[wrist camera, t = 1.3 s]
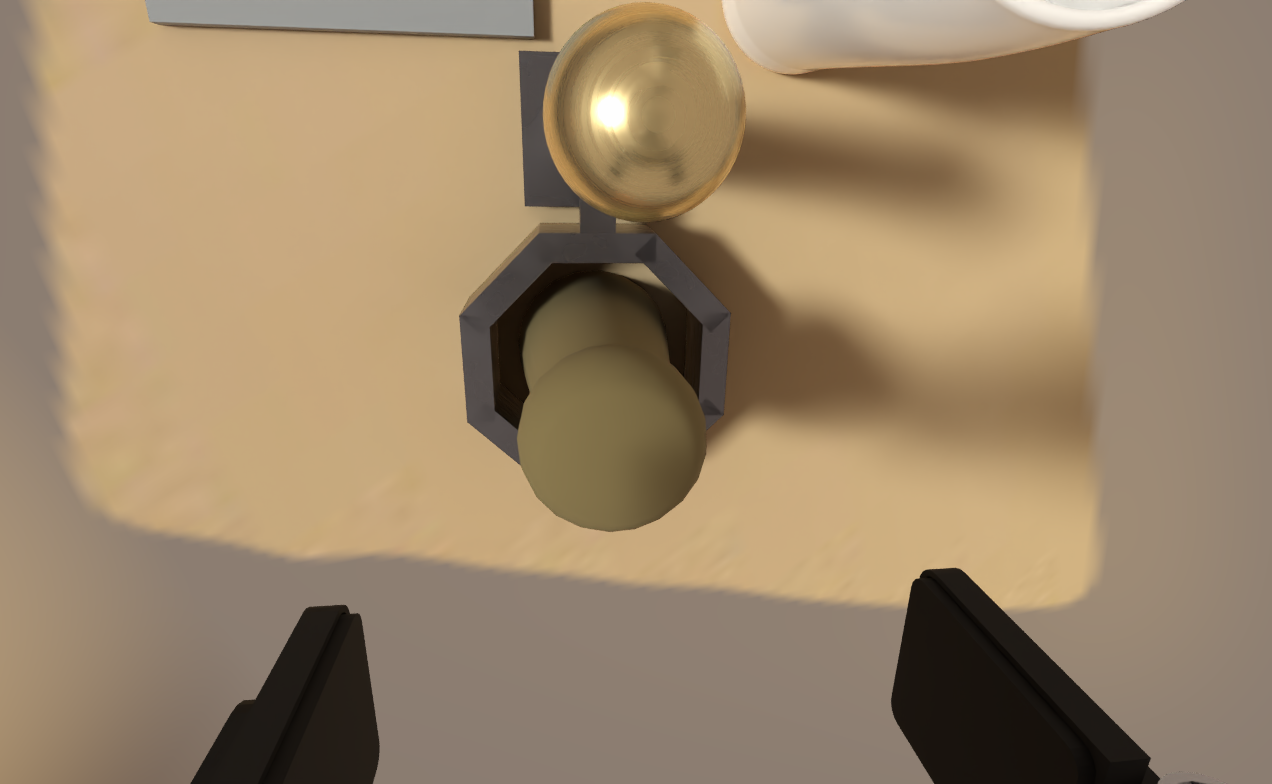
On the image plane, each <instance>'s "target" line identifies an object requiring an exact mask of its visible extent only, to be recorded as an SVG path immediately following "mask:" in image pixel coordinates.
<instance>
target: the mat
mask: <svg viewBox="0 0 1272 784" xmlns="http://www.w3.org/2000/svg"><path fill="white" fill-rule="evenodd" d="M145 2H146V7H147V12H148V16H149V21H150V22H152V23H156V24H159V25H176V26H203V27H229V28H256V29H282V30H309V31H335V32H362V33H388V34H415V35H441V36H468V37H494V38H521V39H534V13H533V0H145Z"/></svg>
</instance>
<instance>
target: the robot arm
mask: <svg viewBox="0 0 1272 784" xmlns="http://www.w3.org/2000/svg"><path fill="white" fill-rule="evenodd" d="M891 705H892V711H893V715H894V718H895V720H896V722H897V724H898V725H899V727H900V729H901V730H902V732H903V734H904V735H905V737H906V738H907V740H908V742H909V743H910V745H911V746H912V748H913V750H914V751H915V753H916V755H917V756H918V758H919V759H920V761H921V763H922V764H923V766H924V768H925V769H926V771H927V772H928V774H929V776H930V777H931V779H932V781H933V782H934V784H1227V783H1225V782H1222V781H1220V780H1218V779H1215V778H1212V777H1209V776H1205V775H1202V774H1198V773H1191V772H1175V773H1170V774H1166V775H1165V776H1164V777H1163V778H1161V779H1160V778H1159V777H1158V776H1157V775H1156V774H1155V773H1154V772H1153V771H1152V770H1151V769H1150V768H1149V767H1148V765H1149V762H1150V759H1151V758H1150V757H1149V756H1148V755H1147V754H1146V753H1145V752H1144V751H1143V750H1142V749H1141V748H1140V747H1139V746H1138V745H1137V744H1136V743H1135V742H1134V741H1133V740H1132V739H1131V738H1130V737H1129V736H1128V735H1127V734H1126V733H1125V732H1124V731H1123V730H1122V729H1121V728H1120V727H1119V726H1118V725H1117V724H1116V723H1115V722H1114V721H1113V720H1112V719H1111V718H1110V717H1109V716H1108V715H1107V714H1106V713H1105V712H1104V711H1103V710H1102V709H1101V708H1100V707H1099V706H1098V705H1097V704H1096V703H1095V702H1094V701H1093V700H1092V699H1091V698H1090V697H1089V696H1088V695H1087V694H1086V693H1085V692H1084V691H1083V690H1082V689H1081V688H1080V687H1079V686H1078V685H1077V684H1076V683H1075V682H1074V681H1073V680H1072V679H1071V678H1070V677H1069V676H1068V675H1067V674H1066V673H1065V672H1064V671H1063V670H1062V669H1061V668H1060V667H1059V666H1058V665H1057V664H1056V663H1055V662H1054V661H1053V660H1052V659H1051V658H1050V657H1049V656H1048V655H1047V654H1046V653H1045V652H1044V651H1043V650H1042V649H1041V648H1040V647H1039V646H1038V645H1037V644H1036V643H1035V642H1034V641H1033V640H1032V639H1031V638H1030V637H1029V636H1028V635H1027V634H1026V633H1024V631H1023V630H1022V629H1021V628H1020V627H1019V626H1018V625H1017V624H1015V622H1014V621H1013V620H1012V619H1011V618H1010V617H1009V616H1008V615H1007V614H1006V613H1005V612H1004V611H1003V610H1002V609H1001V608H1000V607H999V606H998V605H997V604H996V603H995V602H994V601H993V600H992V599H991V598H990V597H989V596H988V595H987V594H986V593H985V592H984V591H983V590H982V589H981V588H980V587H979V586H978V585H977V584H976V583H975V582H974V581H973V580H972V579H971V578H970V577H969V576H968V575H967V574H966V573H965V572H963V571H962V570H961V569H958V568H946V569H929V570H925V571H923V572H922V574H921V575H920V579H915V580H914V581H913V583H912V586H911V592H910V597H909V603H908V608H907V614H906V619H905V625H904V631H903V636H902V642H901V647H900V653H899V659H898V664H897V670H896V675H895V681H894V686H893V692H892V698H891ZM378 760H379V736H378V730H377V723H376V716H375V709H374V702H373V695H372V688H371V682H370V674H369V667H368V661H367V654H366V647H365V640H364V633H363V626H362V620H361V616H360V614H358V613H357V614H350V613H349V609H348V607H347V606H346V605H334V606H317V607H308V608H306V609H305V611H304V612H303V614H302V616H301V618H300V619H299V621H298V623H297V625H296V627H295V628H294V630H293V632H292V634H291V636H290V638H289V639H288V641H287V643H286V645H285V647H284V649H283V650H282V652H281V654H280V656H279V658H278V660H277V661H276V663H275V665H274V667H273V669H272V670H271V673H270V674H269V676H268V678H267V680H266V681H265V683H264V685H263V687H262V689H261V691H260V693H259V694H258V696H257V698H256V700H244V701H242V702H241V703H239V704H238V705H237V706H236V707H235V709H234V710H233V712H232V713H231V714H230V716H229V718H228V720H227V722H226V723H225V725H224V727H223V728H222V730H221V732H220V734H219V735H218V737H217V739H216V741H215V742H214V744H213V746H212V747H211V749H210V751H209V753H208V754H207V756H206V758H205V760H204V761H203V763H202V765H201V766H200V768H199V770H198V772H197V773H196V775H195V777H194V779H193V780H192V782H191V784H373V781H374V777H375V774H376V770H377V765H378Z"/></svg>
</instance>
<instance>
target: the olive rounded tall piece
mask: <svg viewBox="0 0 1272 784" xmlns="http://www.w3.org/2000/svg"><path fill="white" fill-rule="evenodd" d="M518 342H519V350H520V358H521V364H522V367H523V371H524V374H525V377H526V381H527V384H528V388H529V391H530V394H529V396H528V397H527V399H526V400H525V402H524V405H523V410H522V415H521V419H520V424H519V429H518V434H517V443H518V451H519V458H520V465H521V468H522V470H523V472H524V474H525V476H526V478H527V480H528V481H529V483H530V485H531V487H532V489H533V491H534V493H535V495H536V497H537V498H538V499H539V500H540V501H541V502H542V503H543V504H545V505H546V506H547V507H548V508H549V509H550V510H551V511H552V512H553V513H554V514H555V515H556V516H558V517H561V518H563V519H565V520H567V521H569V522H571V523H573V524H575V525H577V526H579V527H583V528H588V529H595V530H601V531H607V532H614V531H622V530H631V529H636V528H639V527H641V526H644V525H646V524H649V523H651V522H653V521H656V520H658V519H660V518H661V517H663V516H664V515H665V514H666V513H668V512H669V511H670V510H672V509H673V508H674V507H675V506H677V505H678V504H679V503H680V502H682V501H683V500H684V498H685V497H686V495H687V494H688V492H689V491H690V490H691V488H692V487H693V485H694V484H695V483H696V481H697V480H698V478H699V474H700V471H701V468H702V465H703V462H704V459H705V455H706V419H705V416H704V413H703V411H702V408H701V406H700V403H699V401H698V398H697V395H696V393H695V392H694V390H693V388H692V387H691V385H690V384H689V383H688V382H687V381H686V380H685V379H684V377H683V376H682V375H681V374H680V373H679V372H678V370H677V369H676V368H675V367H674V366H673V365H672V364H670V361H669V353H668V344H667V336H666V327H665V324H664V322H663V319H662V317H661V314H660V311H659V309H658V306H657V305H656V304H655V302H654V301H653V300H652V299H651V298H650V297H649V295H648V294H647V293H646V292H645V291H644V289H643V288H641V287H640V286H638V285H636V284H635V283H633V282H632V281H630V280H628V279H627V278H625V277H623V276H621V275H616V274H612V273H608V272H604V271H600V270H598V271H586V272H575V273H572V274H570V275H568V276H565V277H563V278H561V279H558V280H556V281H553V282H552V283H551V284H550V285H548V286H547V287H546V288H545V289H544V290H543V291H542V292H540V293H539V294H538V295H537V296H536V297H535V298H534V299H533V301H532V303H531V305H530V306H529V308H528V310H527V311H526V313H525V315H524V317H523V319H522V324H521V329H520V334H519V339H518Z"/></svg>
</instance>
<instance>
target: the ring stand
mask: <svg viewBox="0 0 1272 784" xmlns="http://www.w3.org/2000/svg"><path fill="white" fill-rule="evenodd" d="M519 67H520V92H521V118H522V144H523V170H524V196H525V206H549V207H579V215H580V224H573V223H540V224H539V225H538V226H537V227H536V228H535V230H534V231H533V232H532V233H531V234H530V235H529V236H528V237H527V238H526V239H525V240H524V241H523V242H522V243H521V244H520V245H519V246H518V247H517V248H516V249H515V250H514V251H513V252H512V254H511V255H510V256H509V257H508V258H507V259H506V260H505V261H504V262H503V263H502V264H501V265H500V266H499V267H498V268H497V269H496V270H495V271H494V272H493V273H492V274H491V275H490V276H489V278H488V279H487V280H486V281H485V282H484V283H483V284H482V285H481V286H480V287H479V288H478V289H477V290H476V291H475V292H474V293H473V294H472V295H471V296H470V297H469V299H468V301H467V302H466V304H465V306H464V308H463V310H462V312H461V313H460V315H459V318H460V332H461V345H462V358H463V371H464V384H465V397H466V410H467V422H468V423H469V424H470V425H472V426H473V427H474V428H475V429H477V430H478V431H479V432H480V433H481V434H483V435H484V436H485V437H486V438H488V439H489V440H490V441H491V442H492V443H494V444H495V445H496V446H497V447H499V448H500V449H501V450H502V451H503V452H505V453H506V454H507V455H508V456H510V457H511V458H512V459H513V460H515V461H516V462H517V463H518V464H519V465H520V458H519V451H518V443H517V434H518V429H519V424H520V419H521V415H522V410H523V405H524V403H523V402H522V401H521V400H519V399H518V398H517V397H516V396H515V395H514V394H512V393H511V392H510V391H509V390H508V389H507V388H505V387H504V386H503V385H502V384H501V382H500V364H499V347H498V329H497V319H498V318H499V317H500V316H501V315H502V314H503V313H504V312H505V311H506V310H507V309H508V308H509V307H510V306H511V305H512V304H513V303H514V302H515V301H516V300H517V299H518V298H519V297H520V295H521V294H522V293H523V292H524V291H525V290H526V289H527V288H528V287H529V286H530V285H531V284H532V283H533V282H534V281H535V280H536V279H537V278H538V277H539V276H540V275H541V274H542V273H543V272H544V271H545V270H546V269H547V268H548V267H549V266H550V265H551V264H552V263H644V264H645V265H646V266H647V267H648V268H649V269H650V270H651V271H652V272H653V273H654V274H655V275H656V276H657V278H658V279H659V280H660V281H661V282H662V283H663V284H664V285H665V286H666V287H667V288H668V289H669V290H670V291H671V292H672V293H673V294H674V295H675V296H676V297H677V298H678V299H679V300H680V301H681V302H682V303H683V304H684V305H685V307H686V308H687V324H686V346H685V368H684V379H685V380H686V381H687V382H688V383H689V384H690V385H691V387H692V388H693V390H694V392H695V393H696V395H697V398H698V401H699V403H700V406H701V408H702V411H703V413H704V416H705V419H706V430H708V429H709V428H710V427H711V426H712V425H713V424H714V423H715V422H716V421H717V420H718V419H720V418H721V417H722V416H723V415H724V402H725V388H726V374H727V359H728V345H729V330H730V316H731V313H730V312H729V311H728V310H727V309H726V308H725V307H724V306H723V304H722V303H721V302H720V301H719V300H718V299H717V298H716V297H715V296H714V295H713V294H712V293H711V292H710V291H709V290H708V288H707V287H706V286H705V285H704V284H703V283H702V282H701V281H700V280H699V279H698V278H697V277H696V276H695V275H694V274H693V272H692V271H691V270H690V269H689V268H688V267H687V266H686V265H685V264H684V263H683V262H682V261H681V260H680V259H679V258H678V256H677V255H676V254H675V253H674V252H673V251H672V250H671V249H670V248H669V247H668V246H667V245H666V244H665V243H664V242H663V240H662V239H661V238H660V237H659V236H658V235H657V234H656V233H655V232H654V231H653V230H652V229H650V228H649V227H648V226H647V225H646V224H616V218H618V219H622V220H627V221H632V222H657V221H662V220H667V219H670V218H673V217H676V216H679V215H681V214H683V213H685V212H687V211H689V210H691V209H693V208H695V207H696V206H697V205H699V204H700V203H702V202H703V201H704V200H705V199H707V198H708V197H709V196H710V195H711V194H712V193H713V192H714V191H715V190H716V189H717V188H718V187H719V186H720V185H721V183H722V182H723V181H724V179H725V178H726V176H727V175H728V173H729V172H730V170H731V168H732V166H733V164H734V162H735V161H736V158H737V156H738V153H739V150H740V148H741V144H742V140H743V136H744V130H745V122H746V102H745V92H744V88H743V84H742V79H741V76H740V73H739V71H738V68H737V65H736V63H735V61H734V59H733V57H732V55H731V53H730V52H729V50H728V49H727V47H726V46H725V44H724V43H723V41H722V40H721V39H720V38H719V37H718V36H717V34H716V33H715V32H714V31H713V30H712V29H711V28H710V27H708V26H707V25H706V24H705V23H704V22H702V21H701V20H699V19H698V18H696V17H695V16H693V15H691V14H690V13H688V12H685V11H683V10H681V9H679V8H676V7H672V6H669V5H665V4H659V3H651V2H639V3H630V4H624V5H620V6H617V7H614V8H611V9H608V10H606V11H604V12H602V13H600V14H598V15H596V16H595V17H593V18H592V19H590V20H589V21H588V22H586V23H585V24H583V25H582V26H581V27H580V28H579V29H578V30H577V31H576V32H575V33H574V34H573V35H572V36H571V38H570V39H569V40H568V41H567V43H566V44H565V45H564V46H563V48H562V49H561V51H560V52H538V51H519Z"/></svg>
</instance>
